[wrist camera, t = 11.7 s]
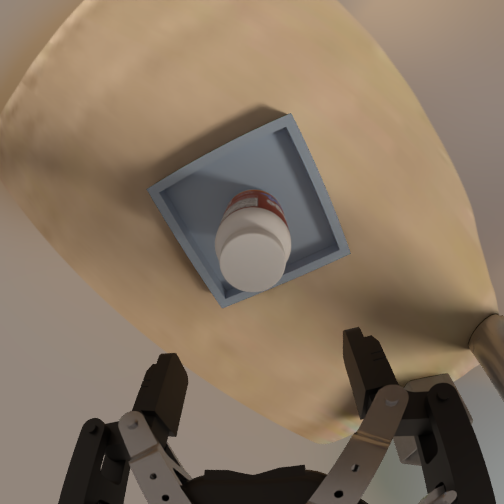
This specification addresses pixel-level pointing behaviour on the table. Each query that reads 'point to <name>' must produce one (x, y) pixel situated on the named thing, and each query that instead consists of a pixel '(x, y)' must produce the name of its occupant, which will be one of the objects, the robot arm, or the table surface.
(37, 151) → the table surface
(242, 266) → the pill bottle
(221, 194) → the tray
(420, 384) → the planter
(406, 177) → the table surface
